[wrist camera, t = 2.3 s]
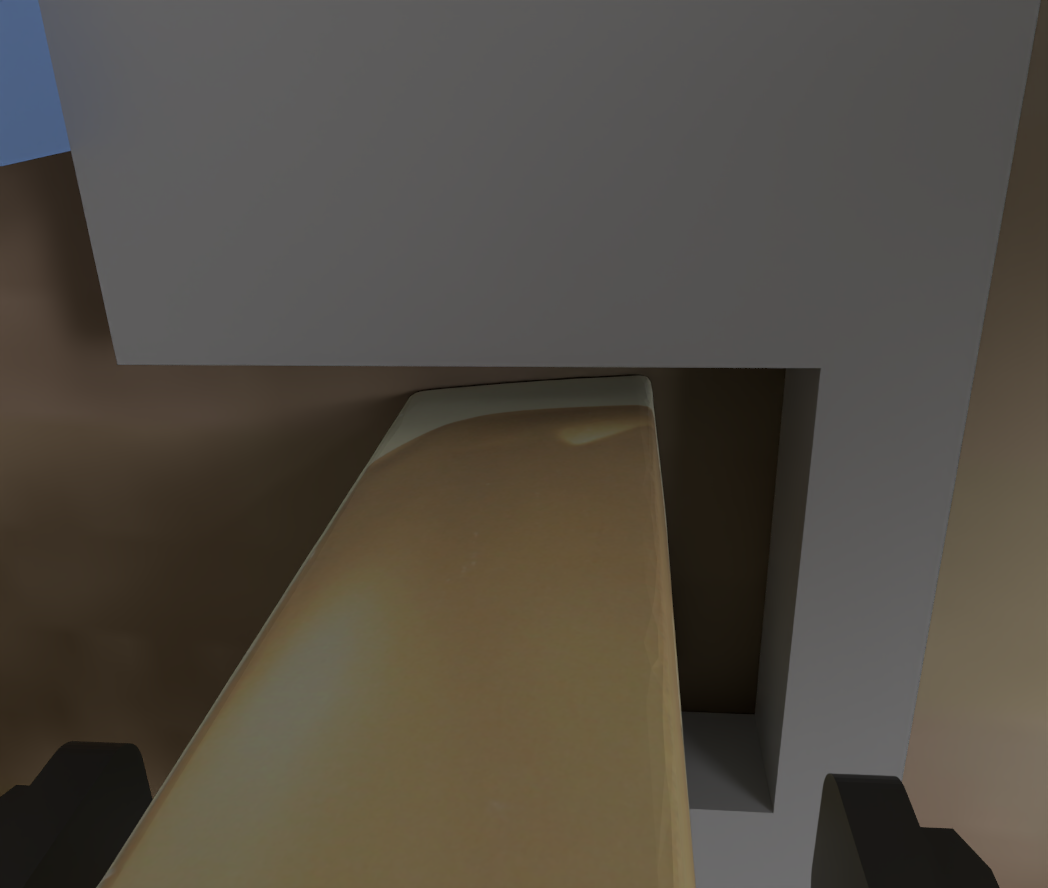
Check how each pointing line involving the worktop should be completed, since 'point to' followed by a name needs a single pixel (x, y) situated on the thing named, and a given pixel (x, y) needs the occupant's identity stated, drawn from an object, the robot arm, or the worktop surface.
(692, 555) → the worktop surface
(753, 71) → the rail
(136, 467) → the worktop surface
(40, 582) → the worktop surface
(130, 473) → the worktop surface
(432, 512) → the skincare box
